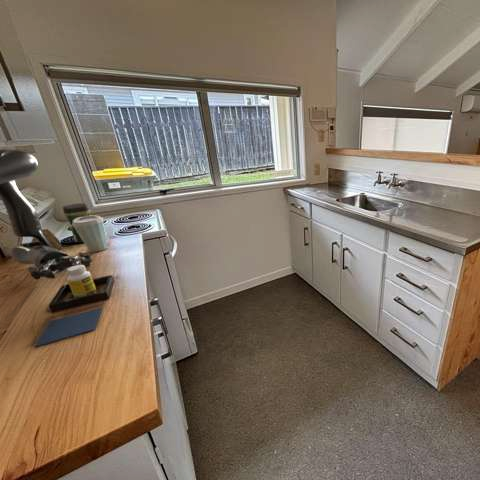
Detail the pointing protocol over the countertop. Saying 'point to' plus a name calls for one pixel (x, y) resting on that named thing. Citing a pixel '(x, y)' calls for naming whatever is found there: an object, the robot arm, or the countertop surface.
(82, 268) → the supplement bottle
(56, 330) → the mat
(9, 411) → the countertop surface
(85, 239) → the disposable coffee cup
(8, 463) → the countertop surface
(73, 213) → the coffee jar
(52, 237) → the rock
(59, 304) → the dark serving tray
